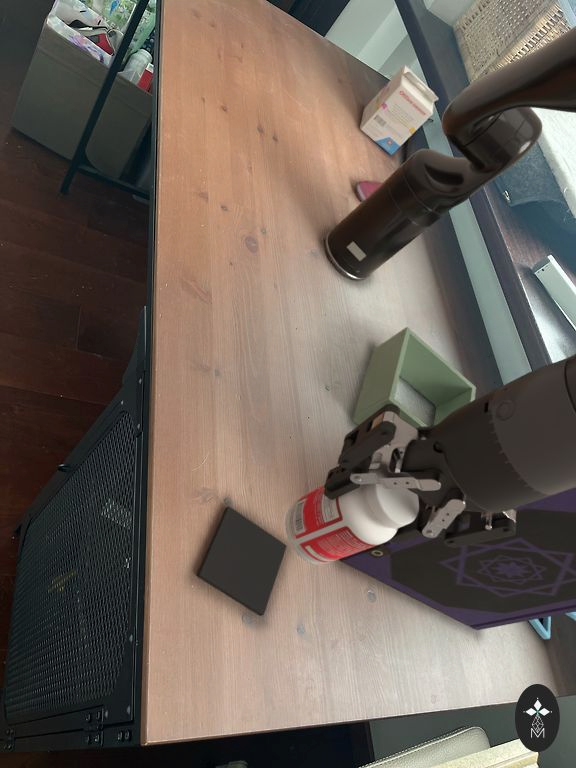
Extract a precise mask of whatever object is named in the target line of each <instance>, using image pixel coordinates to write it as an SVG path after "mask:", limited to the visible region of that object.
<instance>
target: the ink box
mask: <svg viewBox="0 0 576 768" xmlns="http://www.w3.org/2000/svg"><path fill="white" fill-rule="evenodd" d="M436 101H439V97H438V96H437V95H436V94H435V92H434V91H433V90H432V89H431V88H430V87H429V86H427V85H426V83H425V82H424V81H422V80H421V79H420V78H419V77H418V76H417V75H416V74H415V72H413V71H412V70H411V69H410V68H409V67H408V66H407V65H405V64H404V65H403V66H402V67H401V68H400V69H399V70H398V71H397V72H396V73H395V74H394V76H393V77H392V78H390V80H389V81H388V82H387V83H386V84H385V85H384V86H383V87H382V88H381V90H380V91H379V92H378V93H377V94H376V95H375V96H374V97H373V99H371V101H370V102H369V103H368V104H367V105H366V106H365V107H364V109H363V112H362V117H361V122H360V125H359V130H360V131H361V132H362V133H364V135H366V136H367V137H369V138H370V139H371V140H372V141H373V142H374V143H376V144H377V145H378V146H379V147H380V148H381V149H383V150H384V151H385V152H387V153H388V155H390V156H393V154H394V153H395V152H396V151H397V150H398V149H399V148H401V146H402V145H403V144H404V143H405V142H407V140H408V138H409V137H410V136H411V135H412V134H413V135H414V133H415V132H417V131H418V129H419V128H421V127H422V125H423V124H424V123H425V122H427V121H428V120H427V119H428V118H429V117H430V116H433V114H434V107H435V106H434V104H435V102H436ZM426 120H427V121H426ZM413 135H412V136H413Z"/></svg>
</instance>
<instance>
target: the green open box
mask: <svg viewBox="0 0 576 768" xmlns="http://www.w3.org/2000/svg"><path fill="white" fill-rule="evenodd" d="M400 378H402V380H404V381H405V382H406V383H408V384H409V385H410V386H411V387H413V389H415V390H416V391H417V392H418V393H419V394H420V395H422V396H423V397H424V398H426V400H428V402H430V403H431V404H433V405H434V406H435V413H434V419H433V424H432V426H434V425H437V424H438V423H440V422H441V421H442V420H443V419H445V418H446V417H447V416H448V415H449V414H450V413H451V412H453V411H454V410H456V409H458V408H460V407H462V406H464V405H466V404H468V403H470V402H472V401H474V400H476V393H477V392H476V391H477V387H476V386H475V385H474V384H473V383H472V382H471V381H470V380H469V379H468V378H466V376H464V375H463V374H462V373H461V372H459V371H458V370H457V369H456V368H455V367H454V366H453V365H451V364H450V363H449V361H447V360H446V359H445V358H444V357H442V355H441V354H439V353H438V352H436V351H435V350H434V349H433V348H432V347H431V346H430V345H429V344H428V343H426V342H425V341H424V340H423V339H422V338H421V337H420V336H419V335H418V334H417V333H416V332H414V331H413V330H411V328H410V327H408V326H406V327H404V328H403V329H401V330H400V331H399V332H397V333H396V334H394V335H392V336H391V337H389V338H388V339H387V340H385V341H384V342H382V343H381V344H378V345H377V347H375V348H373V350H372V353H371V357H370V360H369V363H368V367H367V370H366V373H365V376H364V380H363V384H362V387H361V390H360V393H359V397H358V400H357V404H356V407H355V409H354V414H353V417H352V422H354V423H355V424H356V425H357V426H358V425H360V424H361V423H362V422H364V421H365V420H366V419H367V418H369V417H370V416H371V415H373V414H374V413H375V412H377V411H378V410H379V409H381V408H382V407H383V406H384V405H386V404H395V405H397V406H398V407H399V408H400V415H399V418H400V419H402V420H403V421H405V422H406V423H408V424H409V425H411V426H412V427H414V428H415V429H416V428H418V427H426V426H428V424H426V423H425V422H423V421H422V420H421V419H420V418H419V417H418V416H416V415H415V414H414V413H413V412H411V411H410V410H409V409H407V407H405V406H404V405H403V404H402V403H400V402H399V400H397V399H395V397H396V393H397V389H398V385H399V382H400V381H399V380H400ZM402 459H403V458H401V459H400V460H402Z"/></svg>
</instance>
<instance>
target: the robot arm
mask: <svg viewBox="0 0 576 768" xmlns="http://www.w3.org/2000/svg"><path fill="white" fill-rule="evenodd" d="M533 108H534V109H541V110H549V111H555V112H564V113H573V114H576V25H575V26H573V27H571V28H570V29H568V30H567V31H565V32H564V33H562V34H561V35H559V36H557V37H556V38H554V39H553V40H551V41H549V42H548V43H546V44H545V45H543V46H541V47H540V48H538V49H536V50H534V51H532V52H530V53H528V54H526V55H524V56H522V57H520V58H517V59H515V60H513V61H511V62H509V63H507V64H505V65H503V66H501V67H498V68H496V69H494V70H492V71H489V72H488V73H487V74H484V75H482V76H481V77H479V78H478V79H476V80H475V81H473V82H471V83H470V84H469V85H467V86H466V87H465V88H463V89H462V90H461V91H460V92H459V93H458V94H457V95H455V97H453V99H452V100H451V101H450V102H449V104H448V105H447V106H446V108H445V111H444V112H443V114H442V117H441V130H442V133H443V134H444V136H445V138H446V139H447V140H448V142H449V143H450V144H451V146H453V147H454V148H455V149H456V150H457V151H458V152H459V153H460V154H461V155H462V156H463V157H460V156H459V157H457V156H451V155H447V154H444V153H442V152H439V151H437V150H434V149H431V148H421V149H418V150H417V151H415V152H414V153H413V154H412V155H411V156H409V155H410V148H411V147H410V146H411V142H412V138H413V135H414V133H413V134H412V135H411V136H410V137H409V138H408V139H407V140H406V145H405V152H404V153H405V154H404V162H403V163H402V164H401V165H399V167H398V168H397V169H396V170H394V171H393V173H391V174H390V176H388V177H387V178H386V179H385V180H384V181H383V182H381V183H382V184H381V185H380V186H379V187H378V188H377V189H376V190H375V191H373V192H372V193H371V194H370V195H369V196H368V197H367V198H366V199H365V200H364V201H363V202H362V201H361V203H360V204H358V205H357V206H356V207H355V208H354V209H353V210H351V212H350V213H349V214H348V215H346V217H344V218H342V220H341V221H340V222H339V223H338V224H337V225H336V226H335V227H333V228H332V229H330V230H329V231H328V232H327V233H326V234H325V237H324V240H323V245H324V250H325V253H326V255H327V257H328V259H329V261H330V263H331V264H332V265H333V266H334V268H335V269H336V270H337V271H338V272H339V273H341V274H342V275H343V276H344V277H345V278H347V279H350V280H351V281H355V282H362V281H364V280H366V279H368V278H369V277H370V276H371V275H372V274H373V273H374V272H375V271H377V270H378V269H379V268H380V267H381V266H383V265H384V264H385V263H386V262H388V261H389V260H390V259H392V258H393V257H394V256H395V255H396V254H398V253H399V252H400V251H401V250H403V249H405V247H407V246H408V245H409V244H411V242H413V241H414V240H415V239H417V237H419V236H420V235H421V234H422V233H424V232H425V231H426V230H428V229H429V228H430V227H432V226H433V224H435V223H436V222H437V221H439V220H440V219H441V218H442V217H444V216H445V215H446V214H447V213H449V212H450V211H451V210H452V209H454V208H455V207H457V206H459V205H461V204H462V203H464V202H466V201H467V200H469V199H470V198H471V197H473V196H474V195H475V194H476V193H477V192H479V191H481V190H482V189H483V188H484V187H486V186H487V185H489V184H490V183H492V182H493V181H494V180H496V179H497V178H498V177H500V176H501V175H503V174H504V173H506V172H507V171H508V170H510V169H512V167H514V166H515V165H516V164H518V163H519V162H520V161H521V160H522V159H524V158H525V157H526V156H527V154H528V153H529V152H530V151H531V150H532V149H533V148H534V147H535V145H536V144H537V142H538V140H539V139H540V136H541V134H542V132H543V122H542V120H541V119H540V117H539V116H538V114H537V113H536V112H535V110H533ZM428 119H429V118H428ZM428 119H427V120H426V121H425V122H427V121H429V120H428ZM399 415H400V408H399V407H398V406H397V405H395V404H386V405H384V406H383V407H382V408H381V409H379V410H378V411H377V412H375V413H374V414H373V415H371V416H370V417H369V418H367V419H366V420H365V421H364V422H362V423H361V424H360V425H358V424H357V426H356V427H354V428H353V429H352V430H350V431H349V432H348V433H347V434H345V436H344V440H343V444H342V448H341V451H340V454H339V455H338V460H337V464H338V465H337V466H334V467H333V468H331V469H329V471H328V472H327V475H326V478H325V482H324V485H323V486H324V488H325V490H324V495H325V496H326V497H328V498H329V499H330V500H333V499H335V498H337V497H340V496H342V495H344V494H346V493H348V492H351V491H353V490H355V489H357V488H359V487H360V484H382V486H383V488H385V489H404V488H407V489H408V490H409V491H411V492H413V493H415V494H417V495H419V496H420V498H421V499H422V500H423V501H424V502H425V503H426V504H427V506H426V510H424V509H423V508H422V507H419V511H418V514H417V517H416V518H415V520H414V521H413V522H411V523H409V524H407V525H405V526H402V527H400V528H398V530H397V532H396V534H395V535H394V536H393V537H392V538H391V539H390V540H388V542H390V543H391V544H395V543H398V542H400V543H401V542H408V541H410V540H414V539H417V538H420V537H423V536H426V537H429V538H435V537H437V536H439V537H441V538H443V539H444V544H445V545H446V546H448V547H452V548H456V547H461V546H465V545H470V544H475V543H480V542H485V541H490V540H494V539H499V538H504V537H509V536H513V535H515V533H516V516H517V507H520V506H523V505H526V504H529V503H532V502H535V501H538V500H541V499H544V498H547V497H550V496H553V495H556V494H558V493H561V492H564V491H567V490H570V489H573V488H576V353H573V354H572V355H570V356H568V357H566V358H563V359H561V360H558V361H556V362H552V363H548V364H546V365H544V366H543V365H542V366H541V367H537V368H536V369H534V370H532V371H529V372H527V373H525V374H523V375H521V376H519V377H517V378H516V379H515V378H514V379H513V380H512V381H510V382H508V383H505V384H503V385H502V386H499V387H497V388H495V389H494V390H492V391H489V392H488V393H486V394H483V395H481V396H480V397H477V398H475V400H474V401H472V402H470V403H468V404H466V405H464V406H462V407H460V408H458V409H456V410H454V411H453V412H451V413H450V414H449V415H448V416H447V417H446V418H445V419H443V420H442V421H441V422H440V423H438V424H437V425H434V426H433V425H427V426H426V427H418V428H416V429H415V428H414V427H412V426H411V425H409V424H408V423H406V422H405V421H403V420H402V419H400V418H399ZM401 458H403V459H401ZM400 460H401V464H400V468H399V470H400V472H397V473H395V470H396V468H397V464H398V462H399V461H400ZM373 464H374V465H378V464H379V466H378V467H376V468H371V465H373ZM467 524H469V528H468V529H467V530H464V531H461V530H462V526H463V525H467Z"/></svg>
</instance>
